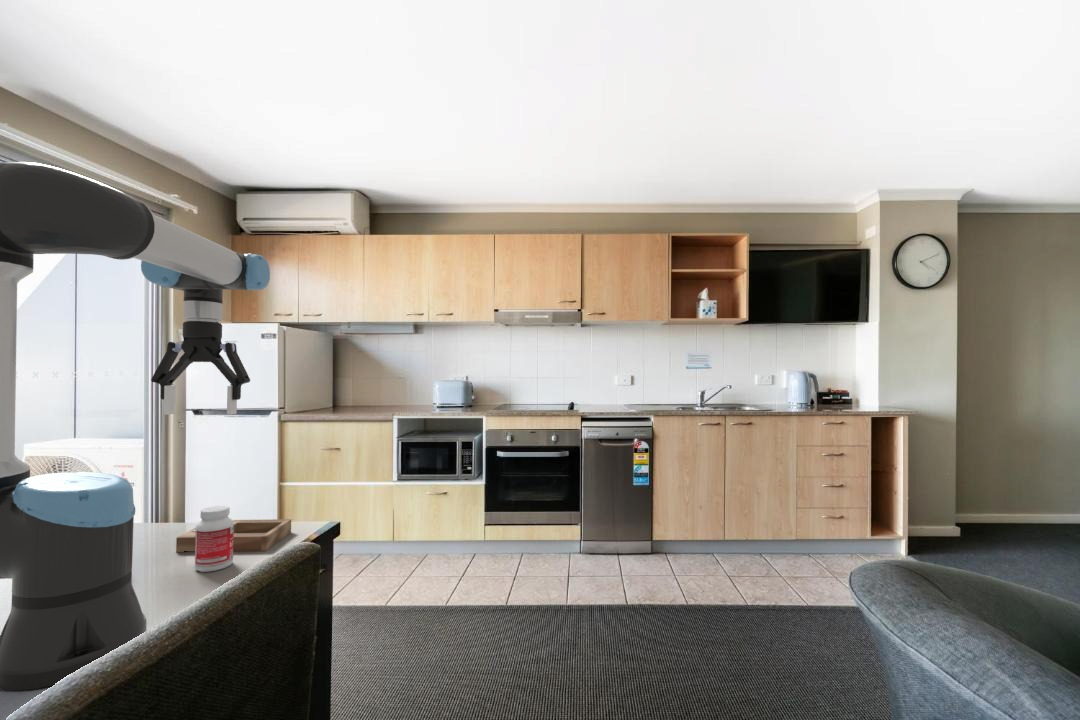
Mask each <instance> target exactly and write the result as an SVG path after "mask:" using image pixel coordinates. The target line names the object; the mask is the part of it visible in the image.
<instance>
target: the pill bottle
mask: <svg viewBox="0 0 1080 720" xmlns="http://www.w3.org/2000/svg"><path fill="white" fill-rule="evenodd" d="M230 513H231V511H230V506H228V505H215V506H208V507H204V508H202V509H201V510H200V516H199V517H200V519H201V520H200V521H199V522H197V524H196V526H195V528H196V530H195V531H196V532H195V552H194V569H195V570H196V571H198V572H201V573H205V572H207V573H208V572H215V571H216V572H217V571H220V570H223V569H227V568H228V567H229V566H231V565H232V564H233V561H234V551H233V532H234V523H233V520H234V519H233V518H231V517H229V515H230Z"/></svg>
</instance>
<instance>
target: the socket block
mask: <svg viewBox="0 0 1080 720" xmlns="http://www.w3.org/2000/svg"><path fill="white" fill-rule="evenodd" d="M232 520H233V523H234V532H233V552H266V551H268V550H269V549H271V548H272V547H273V546H275V545H277V543H278V542H280V541H281V540H283V539H284V538H286V537H287V536H288V535H289V534H291V533H292V519H291V518H290V519H287V518H286V519H284V518H283V519H279V518H277V519H275V518H274V519H232ZM195 530H196V527H195V528H193V529H190V530H188V531H187V532H184V533H183V534H181V535H179V536H177V537H176V541H175V542H176V543H175V545H176V546H175V547H176V548H175V551H176V552H175V553H185V552H184V551H195V532H196V531H195Z"/></svg>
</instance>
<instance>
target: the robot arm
mask: <svg viewBox="0 0 1080 720" xmlns="http://www.w3.org/2000/svg"><path fill="white" fill-rule="evenodd" d="M47 254H48V255H49V254H50V255H51V254H52V255H53V254H55V255H57V254H59V255H65V254H66V255H68V254H70V255H74V254H75V255H95V256H96V255H97V256H102V257H107V258H110V259H113V260H120V261H124V260H130V259H135V260H139V261H140V269H141V273H142V276H143V277H145V279H146V280H147V281H149V282H150V283H152V284H154V285H158V286H159V287H161V288H168V289H173V290H177V291H182V292H183V301H182V318H183V319H184V321H183V322H182V337H183V341H182V343H180V342H178V341H177V342H175V341H168V342H167V345H166V352H165V354H164V356H163V357H162V359H161V361H160V363H159V365H158V366H157V368H156V370H155V371H154V374H153V375H152V377H151V378H150V380H151V382H152V383H156V384H158V385H160V399H161V400H163V416H164V415H165V416H167V415H175V414H176V394H177V390H176V387H177V385H174V382H175V381H176V380H177V379H178V378H179V377H180V375H181V374H183V372H184V371H185V370H187V368H188V367H189V366H190V365H191V364H193V363H202V362H203V363H212V364H213V365H214V366H215V367H216V369H218V371H219V372H220V374H222V375H223V377H224V378H225V379H226V380H227V382H228V383H230V385H227V390H226V392H227V393H226V394H227V395H226V398H227V399H226V415H229V416H231V415H237V411H238V408H237V406H238V405H237V403H238V400H241V397H242V386H243V385H244V384H247V383H250V382H251V378H250V377H249V374H248V372H247V370H246V368H245V367H244V364H243V362H242V360H241V358H240V356H239V354H238V352H237V351H238V350H237V344H236V342H235V343H234V342H225V343H222V338H223V324H222V323H220V322H222V321H223V308H224V307H223V293H224V290H232V291H233V290H237V291H248V292H250V291H256V290H257V291H259V290H264V289H265V288H267V287H268V286H269V283H270V281H271V277H270V276H271V271H270V270H271V269H270V265H269V263H268V261H267V259H266V258H265V257H264V256H263V255H261V254H255V253H254V254H253V253H250V252H249V253H239V252H238V251H234V250H232V249H231V248H227V247H225V246H224V245H222V244H219V243H217V242H215V241H212V240H210V239H208V238H206V237H204V236H201V234H200V235H199V234H197V233H195V232H193V231H191V230H188V229H186V228H184V227H183V226H180V225H178V224H176V223H173V222H171V221H169V220H167V219H165V218H163V217H160V216H159V215H156V214H154V213H153V212H152V210H151V209H150V208H149V206H148V205H146V204H145V203H144V202H143V201H141V200H140V199H137V198H135V197H133V196H131V195H129V194H126V193H125V192H123V191H120V190H119V189H117V188H114V187H111V186H110V185H107V184H104V183H103V182H99V181H97V180H95V179H92V178H89V177H86V176H83V175H81V174H79V173H76V172H72V171H69V170H66V169H64V168H63V169H62V168H59V167H55V166H51V165H50V164H49V165H47V164H42V163H38V162H29V161H28V162H27V161H13V162H11V161H0V580H2V579H3V580H4V579H11V607H10V608H11V609H10V612H9V615H8V617H7V620H6V622H5V624H4V626H3V629H2V630H1V632H0V690H2V691H3V690H4V691H26V690H35V689H36V690H37V689H41V688H47V687H52V686H55V685H54V684H55V683H57V682H58V681H60V680H61V679H63V678H64V677H66V676H67V675H69V674H71V673H73V672H75V671H76V670H78V669H80V668H81V667H83V666H85V665H87V664H89V663H91V662H92V661H94V660H96V659H98V658H100V657H102V656H104V655H105V654H107V653H109V652H110V651H112V650H114V649H116V648H118V647H119V646H121V645H123V644H125V643H127V642H128V641H130V640H132V639H133V638H135V637H137V636H139V635H140V634H142V633H144V632H145V631H146V632H147V624H148V623H147V618H146V616H145V613H143V610H142V606H141V605H140V602H139V600H138V597H137V594H136V591H135V589H134V587H133V581H132V580H133V577H132V576H133V575H132V574H133V553H134V552H133V551H134V549H133V548H134V547H133V546H134V521H135V520H134V519H135V517H134V516H135V515H136V505H135V503H134V502H135V501H134V489H133V486H132V485H131V483H130V482H129V481H128V480H127V479H126V478H124V477H121V476H119V475H115V474H110V473H104V472H91V471H78V472H53V473H44V474H39V475H34V476H31V466H30V465H29V464H27V463H25V462H24V461H22V460H21V459H19V458H18V457H17V456H16V454H15V453H16V452H15V451H16V450H15V449H16V446H15V445H16V444H15V443H16V395H17V393H16V392H17V391H16V388H17V387H16V386H17V327H18V325H17V323H18V284H19V282H20V281H21V280H23V279H25V278H27V277H28V276H29V275H31V274H33V272H34V255H47ZM185 320H186V321H185ZM182 351H183V354H182V355H181V356H180V357H179V359H178V361H177V362H176V359H177V358H178V355H179V353H180V352H182ZM222 351H223V352H224V353H225V355H226V356H227V359H228V360H229V363H230V364H231V367H232V368H233V370H232V368H231V367H230V366H229V365H228V363H227V362H226V361H225V359H224V358H223V356H222V355H221V354H220V353H221V352H222ZM175 362H176V363H175ZM174 363H175V364H174Z"/></svg>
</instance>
